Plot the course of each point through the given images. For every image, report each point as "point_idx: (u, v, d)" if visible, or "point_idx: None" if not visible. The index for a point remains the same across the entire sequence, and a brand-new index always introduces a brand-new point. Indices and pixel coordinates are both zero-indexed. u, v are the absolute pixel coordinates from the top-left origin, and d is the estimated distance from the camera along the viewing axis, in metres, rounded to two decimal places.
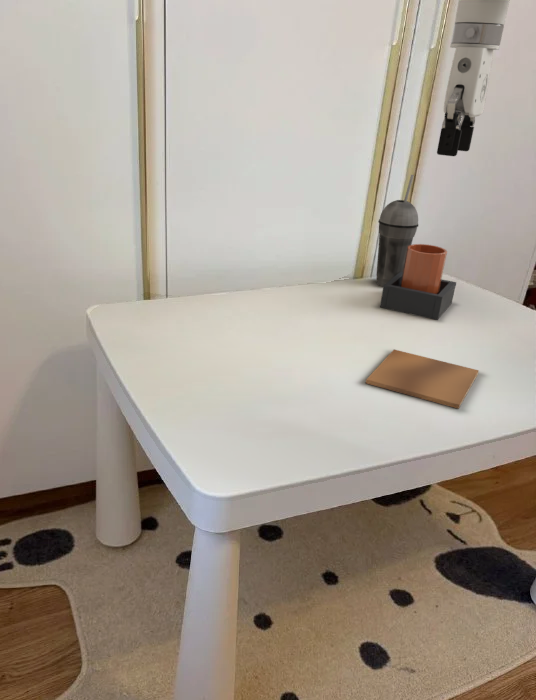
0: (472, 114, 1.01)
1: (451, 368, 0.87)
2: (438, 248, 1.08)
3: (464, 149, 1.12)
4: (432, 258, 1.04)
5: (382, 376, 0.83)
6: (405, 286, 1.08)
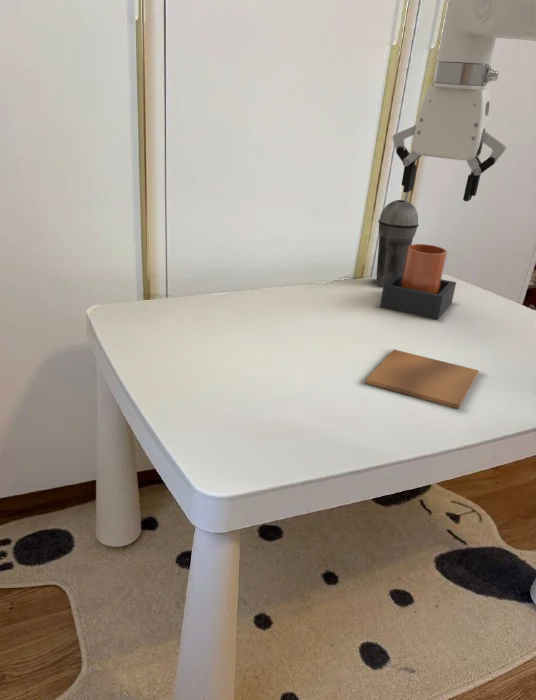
0: None
1: (451, 368, 0.87)
2: (438, 248, 1.08)
3: (411, 189, 1.05)
4: (432, 258, 1.04)
5: (382, 376, 0.83)
6: (405, 286, 1.08)
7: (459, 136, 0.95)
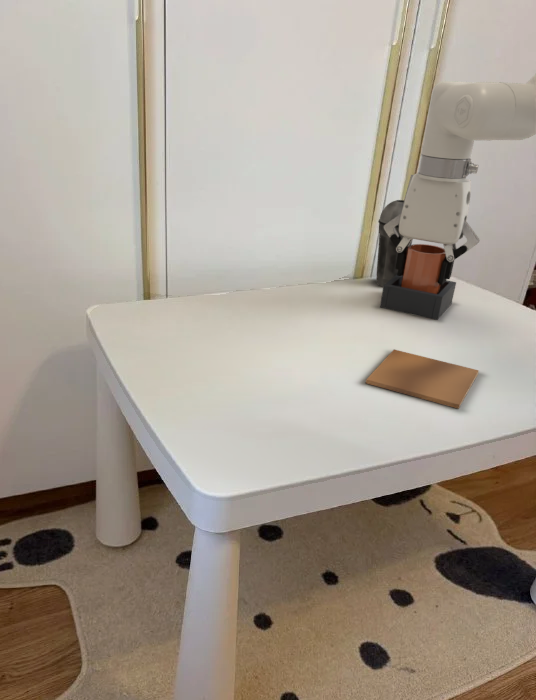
0: None
1: (451, 368, 0.87)
2: (438, 248, 1.08)
3: None
4: (433, 258, 1.04)
5: (382, 376, 0.83)
6: (405, 286, 1.08)
7: (442, 223, 1.01)
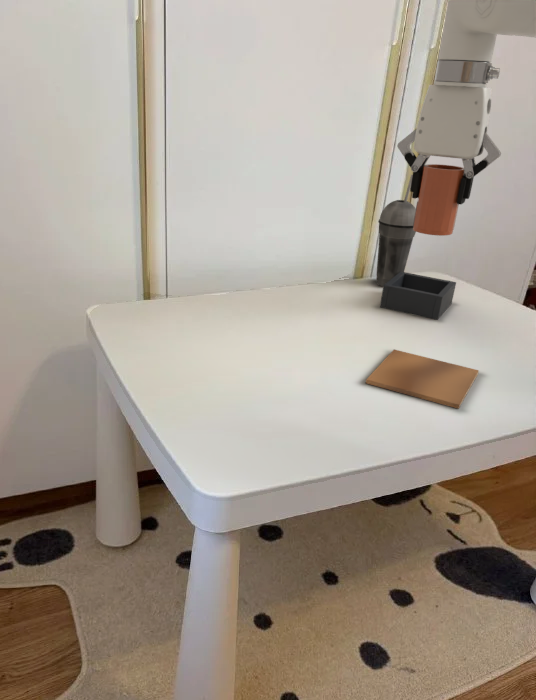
0: None
1: (451, 368, 0.87)
2: (456, 167, 1.01)
3: None
4: (451, 175, 0.97)
5: (382, 376, 0.83)
6: (421, 208, 1.01)
7: (461, 134, 0.95)
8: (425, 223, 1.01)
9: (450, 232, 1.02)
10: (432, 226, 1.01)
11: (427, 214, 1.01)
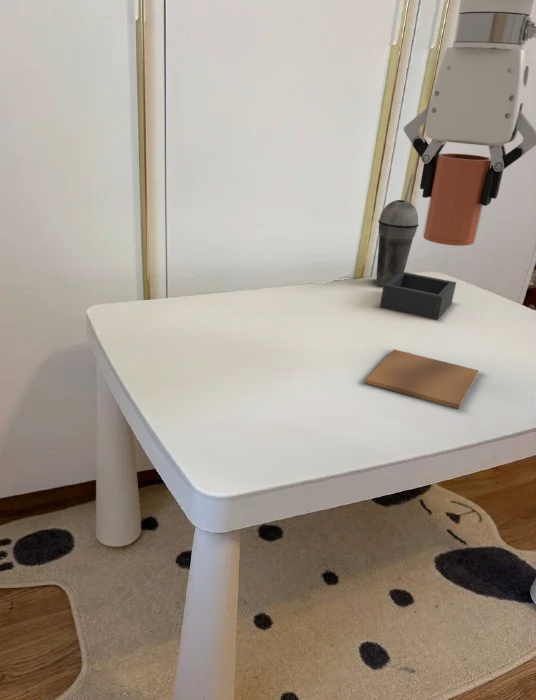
0: None
1: (451, 368, 0.87)
2: (479, 157, 0.78)
3: None
4: (473, 167, 0.74)
5: (382, 376, 0.83)
6: (434, 210, 0.78)
7: (488, 113, 0.72)
8: (439, 229, 0.78)
9: (471, 241, 0.79)
10: (448, 233, 0.78)
11: (442, 218, 0.78)
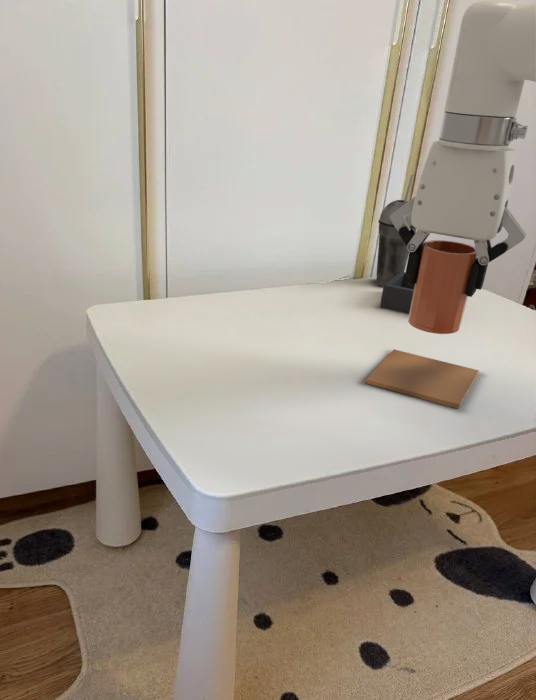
0: None
1: (451, 368, 0.87)
2: (465, 246, 0.78)
3: None
4: (459, 260, 0.74)
5: (382, 376, 0.83)
6: (419, 298, 0.78)
7: (473, 210, 0.71)
8: (424, 318, 0.78)
9: (456, 329, 0.79)
10: (434, 322, 0.78)
11: (428, 307, 0.77)
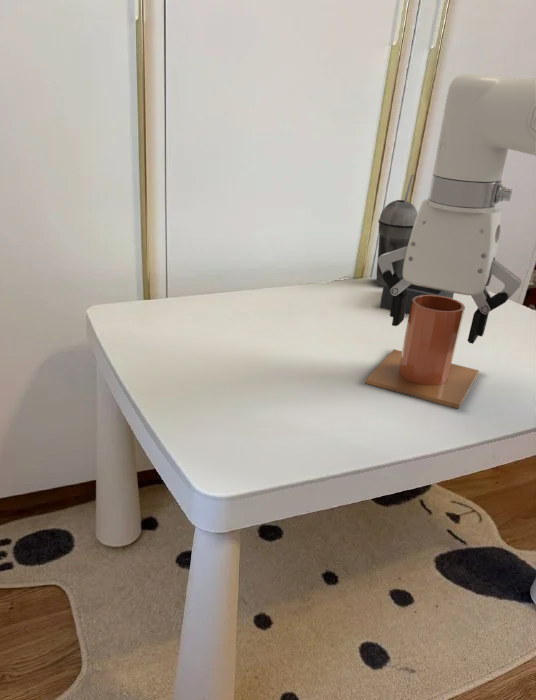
0: None
1: (451, 368, 0.87)
2: (452, 301, 0.81)
3: (402, 319, 0.84)
4: (446, 318, 0.77)
5: (382, 376, 0.83)
6: (409, 351, 0.81)
7: (462, 267, 0.74)
8: (414, 370, 0.81)
9: (445, 380, 0.82)
10: (423, 374, 0.81)
11: (417, 360, 0.81)
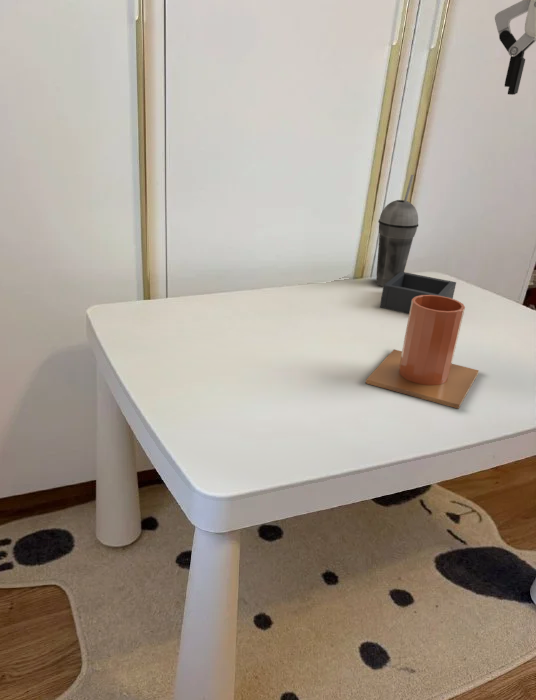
0: None
1: (451, 368, 0.87)
2: (452, 301, 0.81)
3: (516, 91, 0.78)
4: (446, 318, 0.77)
5: (382, 376, 0.83)
6: (409, 351, 0.81)
7: None
8: (414, 370, 0.81)
9: (445, 380, 0.82)
10: (423, 374, 0.81)
11: (417, 360, 0.81)
